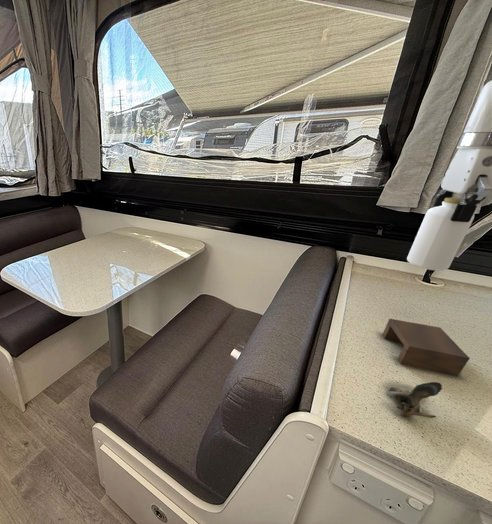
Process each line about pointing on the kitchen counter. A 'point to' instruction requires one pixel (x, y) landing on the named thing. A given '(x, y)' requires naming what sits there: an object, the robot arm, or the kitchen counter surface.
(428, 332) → the shelf
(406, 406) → the eagle figurine
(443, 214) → the potion bottle
